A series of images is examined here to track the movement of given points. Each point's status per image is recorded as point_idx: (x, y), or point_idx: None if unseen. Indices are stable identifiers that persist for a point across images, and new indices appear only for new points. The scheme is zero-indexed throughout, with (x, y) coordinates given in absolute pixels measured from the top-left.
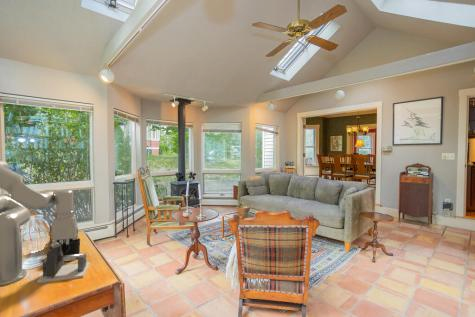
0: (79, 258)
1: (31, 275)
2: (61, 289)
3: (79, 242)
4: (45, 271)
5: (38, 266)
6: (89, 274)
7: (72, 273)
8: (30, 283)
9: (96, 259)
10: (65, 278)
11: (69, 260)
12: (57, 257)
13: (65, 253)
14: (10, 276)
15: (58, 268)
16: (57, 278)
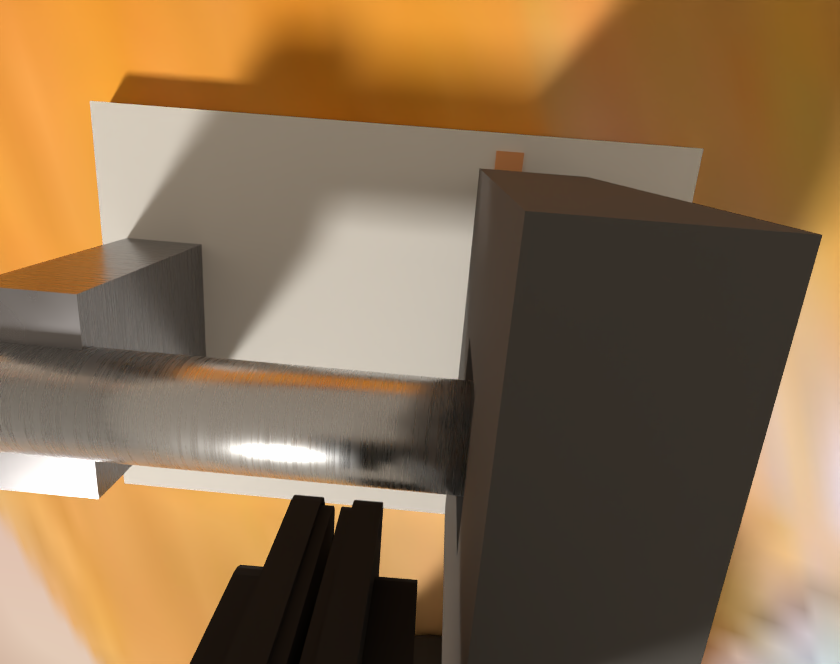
0: (48, 304)
1: (792, 420)
2: None
3: None
4: None
5: (748, 628)
6: (47, 160)
7: (263, 219)
8: (772, 186)
9: (98, 568)
10: (331, 121)
11: (414, 640)
12: (476, 379)
13: None
14: None
15: (464, 337)
16: (435, 132)
